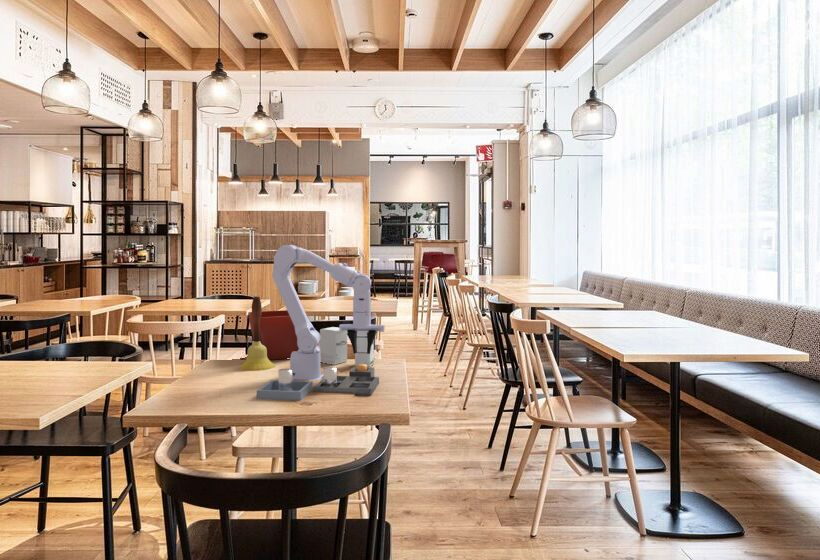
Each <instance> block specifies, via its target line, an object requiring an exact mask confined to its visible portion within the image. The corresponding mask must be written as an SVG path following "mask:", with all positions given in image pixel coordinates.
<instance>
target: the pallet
mask: <svg viewBox="0 0 820 560" xmlns="http://www.w3.org/2000/svg"><path fill="white" fill-rule="evenodd" d="M379 384H380V376H374V377H361V376H349V375H337V387H323V378H321V380H320V381H319V382H318V383H316V385H314V387H313V392H314V393H317V392H318V393H335V394H336V393H338V394H339V393H340V394H341V393H342V394H354V396H372V395H373V393H374V392H375V391H376V389H377V388H378V386H379Z"/></svg>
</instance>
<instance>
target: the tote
mask: <svg viewBox="0 0 820 560" xmlns="http://www.w3.org/2000/svg"><path fill="white" fill-rule="evenodd" d="M313 381H314V380H293V391H279V387H278V379H270V381H268V382H267V383H266V384H264V385H262V386H261V387H260V388H258V389H257V390H256V400H267V401H268V400H269V401H270V400H271V401H272V400H273V401H274V400H276V401H298V402H299V401H300V402H301V401H302V400H304V398H305V397H306V396H308V395H309V393H310V392H311V391H313V390H314V387H313V384H314V383H313Z"/></svg>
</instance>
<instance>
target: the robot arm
mask: <svg viewBox="0 0 820 560" xmlns="http://www.w3.org/2000/svg"><path fill="white" fill-rule="evenodd" d="M303 263H307V264H310V265H312V266H314V267H316V268H318V269H320V270H322V271H326V272H327V273H329V274H330V277H331V279H333V281H336V282H339V283H341V284H343V285H344V286H346V287H349V288H352V290H353V297H352V300H353V301H352V306H353V307H352V319H353V320H352V323H347V324H346V323H345V324H344V323H342V324H339V327H338V328H339V331H347V338H348V340H349V341H350V344H351V348H352V352H353V354H354V355H355V354H356V353H357V331H369V332H367V343H368V345H367V354H370V351H371V346H372V343H373V340H374V341H375V338H376V335H377V332H383V333H384V332H385V324H373V323H372V316H371V315H372V312H371V311H372V298H371V295H372V294H371V287H372V281H371V278H370V277H369V276H368V275H367V274H366V273H361V270H355V269H353V268H352V267H350V266H348V263H347V262H346V263H345V262H343V263H342V262H338V263H335V264H334V263H332V262H331V261H329V260H327V259H325V258H323V257H321V256H320V255H318V254H316V253H314V252H312V251H310V250H309V249H305V248H303V247H300V246H299V247H298V246H297V245H295V244H283V245H281V246H279V247H278V249H277V250H276V252H275V254H274V256H273V267H272V274H271V276H272V279H273V281H274V284H275V286H276V288H277V291H278V292H279V295H280V297H281V299H282V301H283V304H284V306H285V308H286V310H287V311H288V313H289V315H290V317H291V320H292V322H293V324H294V326H295V333H296V336H297V345H298V347H299V350H298V351H293V352H292V354H291V358H289V360H290V361H289V365H290V366H289V369H292V376H293V380H298V381H319V380H320V379H321V380H322V379H323V373H321V372H322V371H321V370H322V369H321V364H322V363H320V346H318V345H320V340H321V337H320V331H317V330H316V328H315V327H314V326H313V324H312V322H311V321H310V320H309V318H308V315H307V313H306V311H305V309H304V306H303V305H302V301H301V300H300V298H299V295H298V293H297V291H296V288H295V286H294V284H293V282H292V279H291V277H290V275H291V273H292V270H293V268H294V267H295V265H296V264H303Z"/></svg>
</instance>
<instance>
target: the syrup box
mask: <svg viewBox="0 0 820 560" xmlns="http://www.w3.org/2000/svg"><path fill="white" fill-rule="evenodd" d="M367 332H369V331H357V353H356V354H354V367H357V365H358V364H366V365H367V367H371V366H372V365H374V364H375V339H374V340H373V343H372V346H371V351H370V354H367V345H368V343H367Z"/></svg>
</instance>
